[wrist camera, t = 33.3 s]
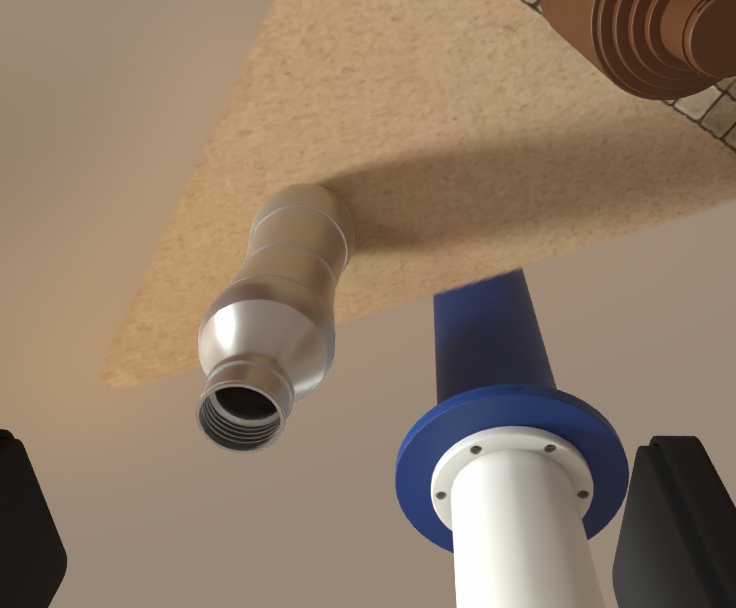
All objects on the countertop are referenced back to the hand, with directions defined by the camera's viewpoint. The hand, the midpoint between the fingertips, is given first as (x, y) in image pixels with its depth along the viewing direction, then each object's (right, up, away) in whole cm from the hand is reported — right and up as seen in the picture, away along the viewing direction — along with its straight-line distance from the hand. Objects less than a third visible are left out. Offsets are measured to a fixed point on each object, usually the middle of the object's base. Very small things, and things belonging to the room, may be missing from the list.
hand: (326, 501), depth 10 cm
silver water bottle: (-3, +9, +34) cm, 35 cm away
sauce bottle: (+13, +20, +26) cm, 35 cm away
